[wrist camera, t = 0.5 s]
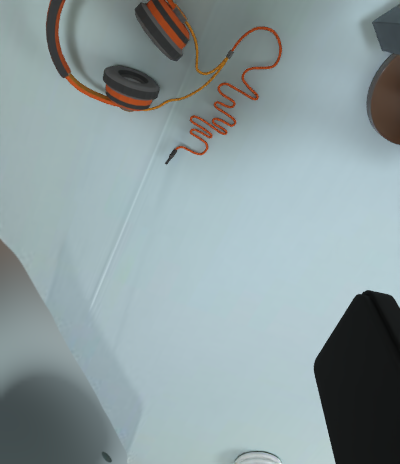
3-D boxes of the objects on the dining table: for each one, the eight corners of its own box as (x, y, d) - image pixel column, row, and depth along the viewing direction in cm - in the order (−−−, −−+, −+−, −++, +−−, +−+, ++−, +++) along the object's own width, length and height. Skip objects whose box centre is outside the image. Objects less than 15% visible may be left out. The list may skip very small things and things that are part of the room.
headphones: (287, 43, 35) (102, -122, 26) (305, 57, 31) (93, -132, 22) (193, 168, 43) (26, 75, 34) (198, 192, 39) (10, 93, 30)
